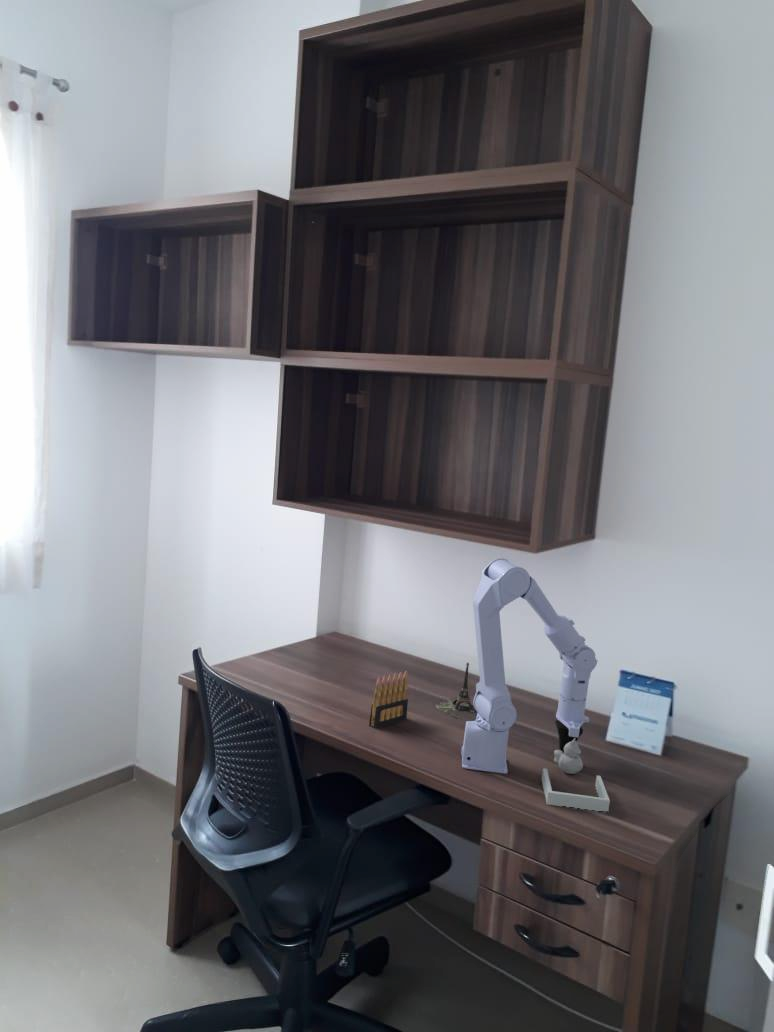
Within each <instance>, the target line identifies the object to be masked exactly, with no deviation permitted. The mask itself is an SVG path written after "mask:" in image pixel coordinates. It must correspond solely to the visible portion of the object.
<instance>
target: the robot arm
mask: <svg viewBox="0 0 774 1032" xmlns="http://www.w3.org/2000/svg"><path fill="white" fill-rule="evenodd" d="M519 598H521V599H522V600H526V601H527V604H529V606H530V607H531V608H532V610H534V612H535V613H536V614H537V615H538V616H539V618H540V619H541V621H543V623H544V629H543V631H544V634H545V636H546V637H547V638H548V639H549V640H550V642H551V643H552V645H553V647H555V649H556V651H557V652H558V653H559V659H560V660H562V661H563V662H564V663H563V666H562V667H563V668H562V675H561V681H560V687H559V688H560V690H559V697H558V704H557V711H556V712H555V718H556V720H555V721H554V723H555V726H556V730H557V732H558V733H557V735H558V748H559V749H558V750H561V751H562V752H564V747H565V745H566V744H567V743H569V742H571V741H573V739H574V738H575V741H576V742H577V741H578V740H579V739H580V737H581V736H582V734H583V732H584V729H583V727H582V726H583V724H584V723H589V722H590V718H589V716H587V715H585V711H586V705H587V704H586V703H587V698H588V697H587V696H588V689H589V682H590V678H591V674H592V672H593V671H594V669H595V668H596V666H597V664H598V662H599V661H598V659H597V657H596V653H595V651H594V649H592V648H591V647H590V646H588V645H586V644H585V643H586V642H585V641H586V638H585V637H584V636H582V635H580V633H579V632H578V631H577V630H576V628H575V627H574V625H575V622H574V621H573V619H572V618H570V617H567V616H565V615H559V614H558V613H557V611H556V610H555V609H554V607H553V605H552V604H551V603H550V601H549V599H548V598H547V597H546V595H545V593H544V591H543V590H542V589H541V587H540V586H539V584H538V582H537V581H536V580H535V578H533V577H532V576H531V575H530V573H529V571H527V570H526V569H525V568H523V567H521V566H518V565H516V564H514V563H512V562H511V561H509V560H508V559H506V558H503V557H499V558H498V557H497V558H495V559H493V560H491V561H490V562H489V563H488V564H487V565H486V566H485V567H484V568H483V569H482V571H481V579H480V582H479V585H478V587H477V590H476V593H475V595H474V598H473V599H472V600H473V601H472V607H473V617H474V618H473V620H474V627H475V628H474V629H475V638H476V639H475V640H476V641H475V642H476V650H477V651H476V652H477V661H478V663H477V664H478V670H479V671H478V673H479V682H477V683H476V684H475V691H476V692H475V694H474V696H473V701H472V703H473V705H472V706H473V709H474V711H475V712H477V714H476V718H475V720H468V721H467V720H466V721H465V725H464V726H465V727H464V735H463V736H464V737H463V742H462V743H463V744H462V746H461V750H460V751H461V752H460V754H461V768H463V769H466V770H467V769H469V770H475V771H481V772H482V771H483V772H489V773H496V774H497V773H498V774H503V775H504V774H505V775H507V774H508V764H507V751H508V750H507V749H508V743H509V742H508V741H509V733H510V728H511V727H512V726H513V725H514V724H515V722H516V720H517V717H518V715H517V709H516V707H515V706H514V704H513V703H512V697H511V693H510V691H509V688H508V686H507V684H506V676H505V675H506V674H505V665H504V651H503V639H502V627H501V616H500V611H502V609H503V608H504V607H505V606H506V605H509V604H510V603H511V602H514V601H515V600H517V599H519Z"/></svg>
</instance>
